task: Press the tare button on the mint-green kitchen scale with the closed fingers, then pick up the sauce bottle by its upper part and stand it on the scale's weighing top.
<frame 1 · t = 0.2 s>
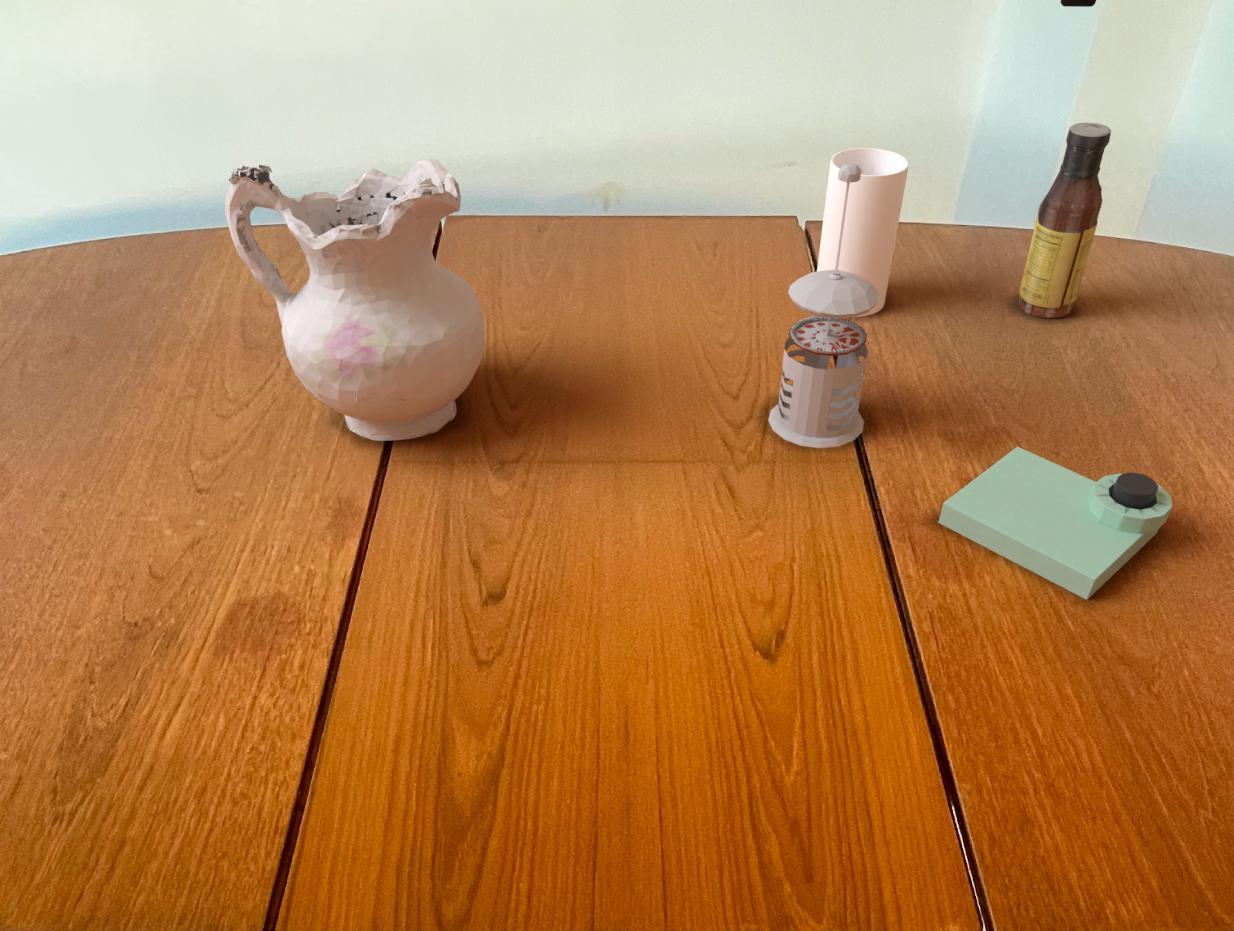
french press: (818, 419, 101), on the table
sauce bottle: (1041, 310, 116), on the table
ceramic pitcher: (389, 413, 104), on the table
scale: (1045, 529, 87), on the table
white cylinder: (848, 303, 118), on the table
tare button: (1134, 491, 84), point 4 cm above the table, slide at 0.2 cm
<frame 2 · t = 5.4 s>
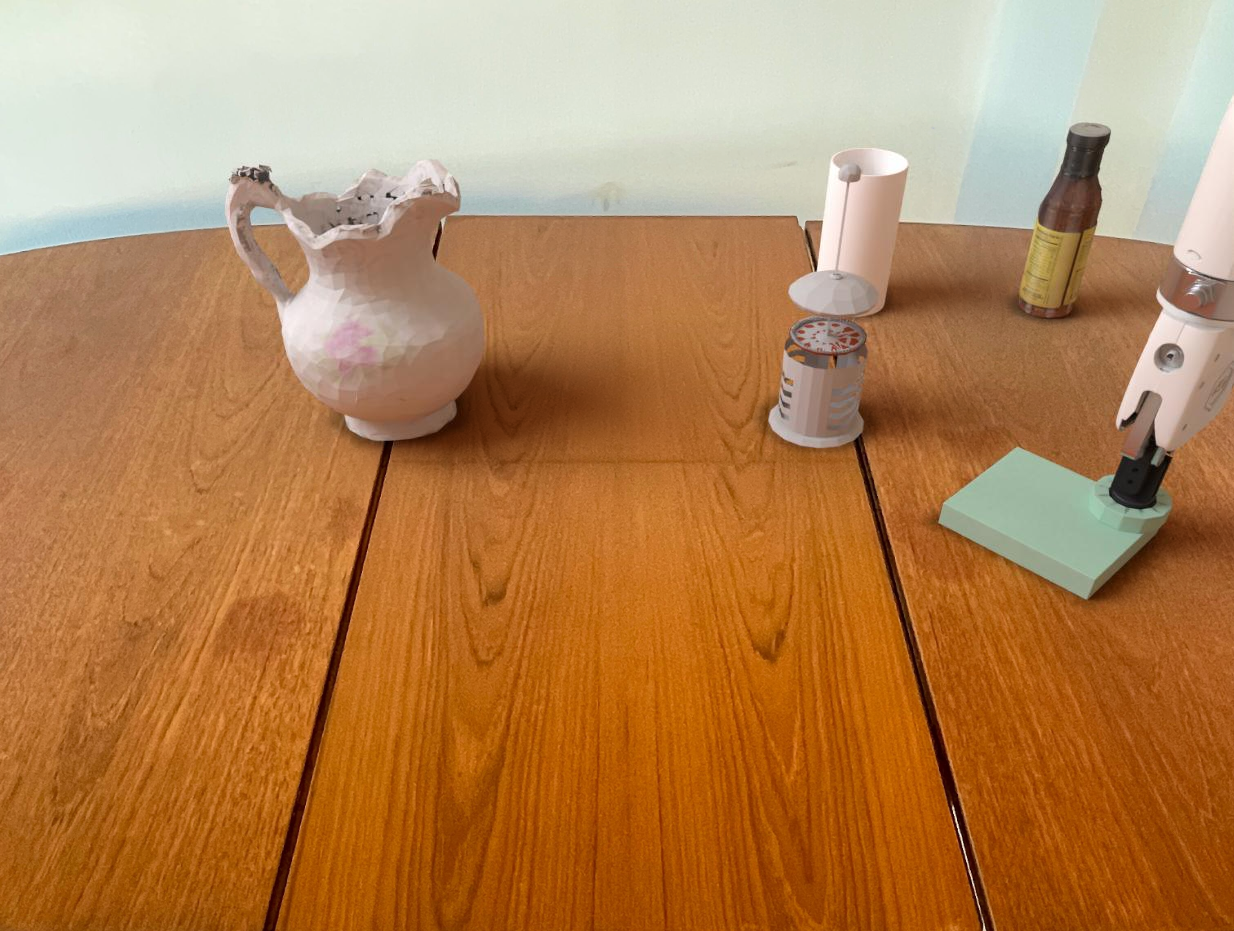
hand: (1132, 492, 84), 4 cm above the table, tool pointing down, fingers closed
tare button: (1130, 499, 85), point 4 cm above the table, slide at -0.7 cm, touching gripper
everything else where it was.
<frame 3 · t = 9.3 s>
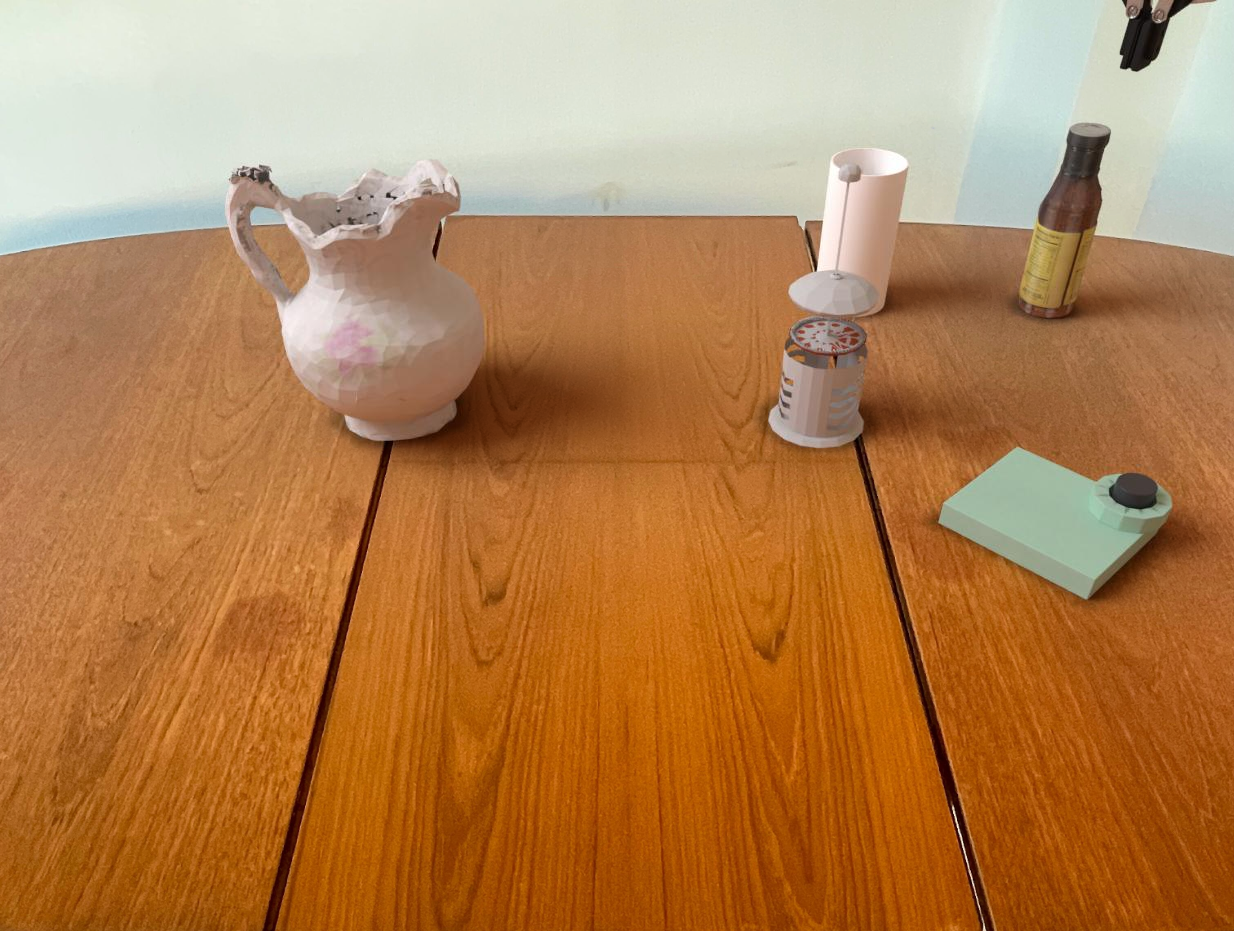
hand: (1134, 66, 92), 27 cm above the table, tool pointing down, fingers closed
tare button: (1134, 491, 84), point 4 cm above the table, slide at 0.2 cm
everything else where it was.
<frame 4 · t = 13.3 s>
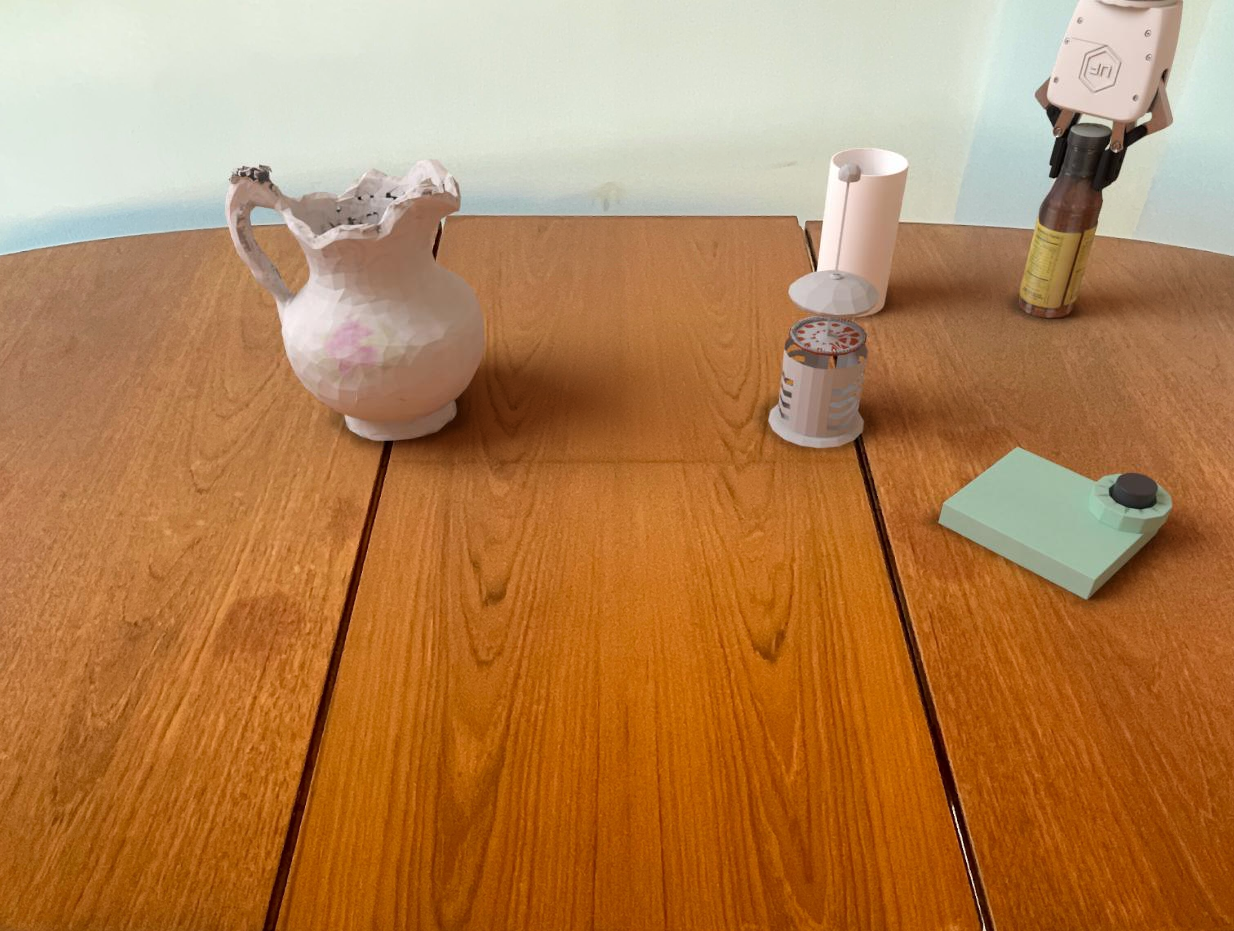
hand: (1080, 179, 106), 15 cm above the table, tool pointing down, fingers closed on sauce bottle, 4 cm apart
sauce bottle: (1041, 310, 116), on the table, touching gripper
everything else where it was.
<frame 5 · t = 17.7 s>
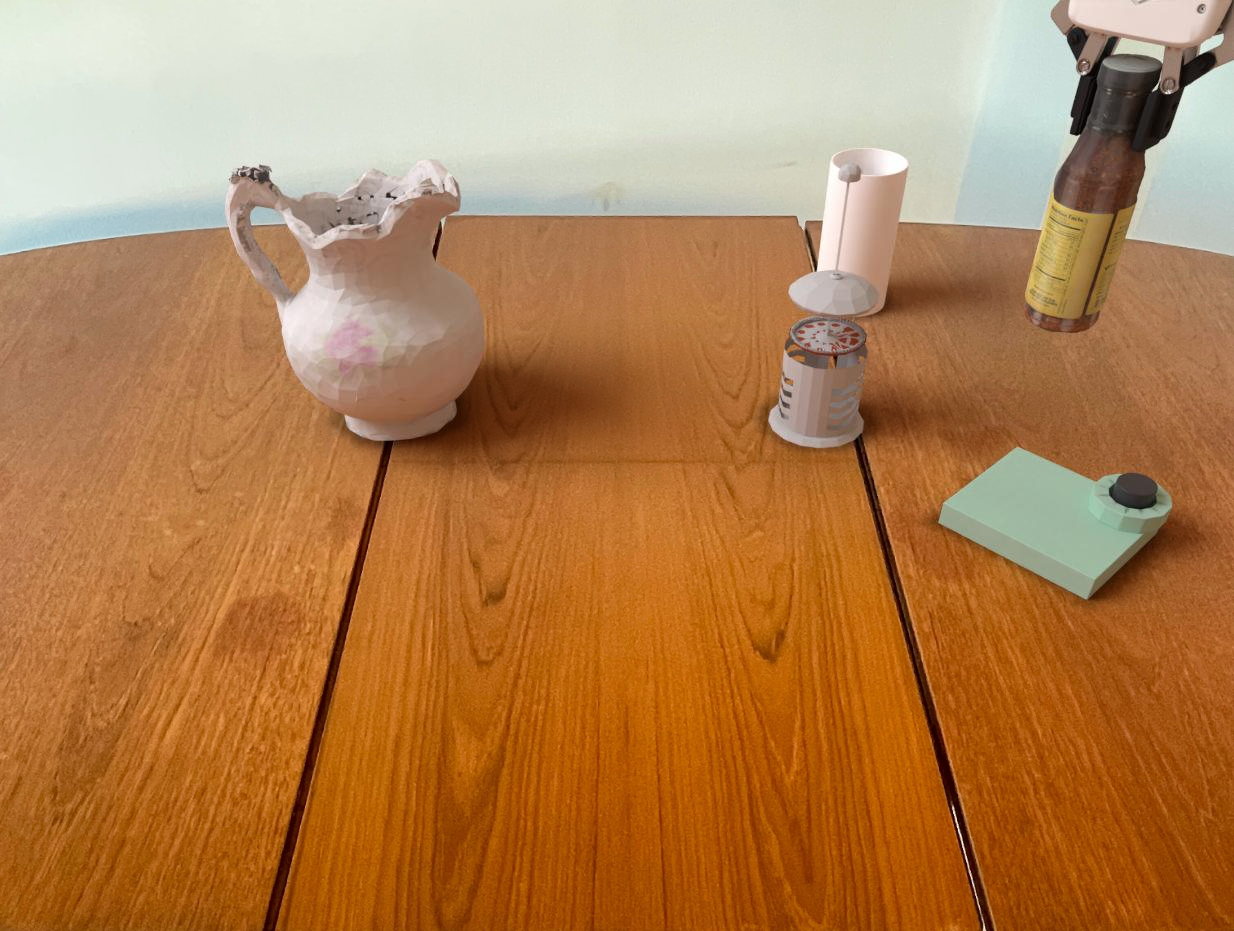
hand: (1114, 136, 74), 29 cm above the table, tool pointing down, fingers closed on sauce bottle, 4 cm apart
sauce bottle: (1055, 321, 85), point 14 cm above the table, touching gripper
everything else where it was.
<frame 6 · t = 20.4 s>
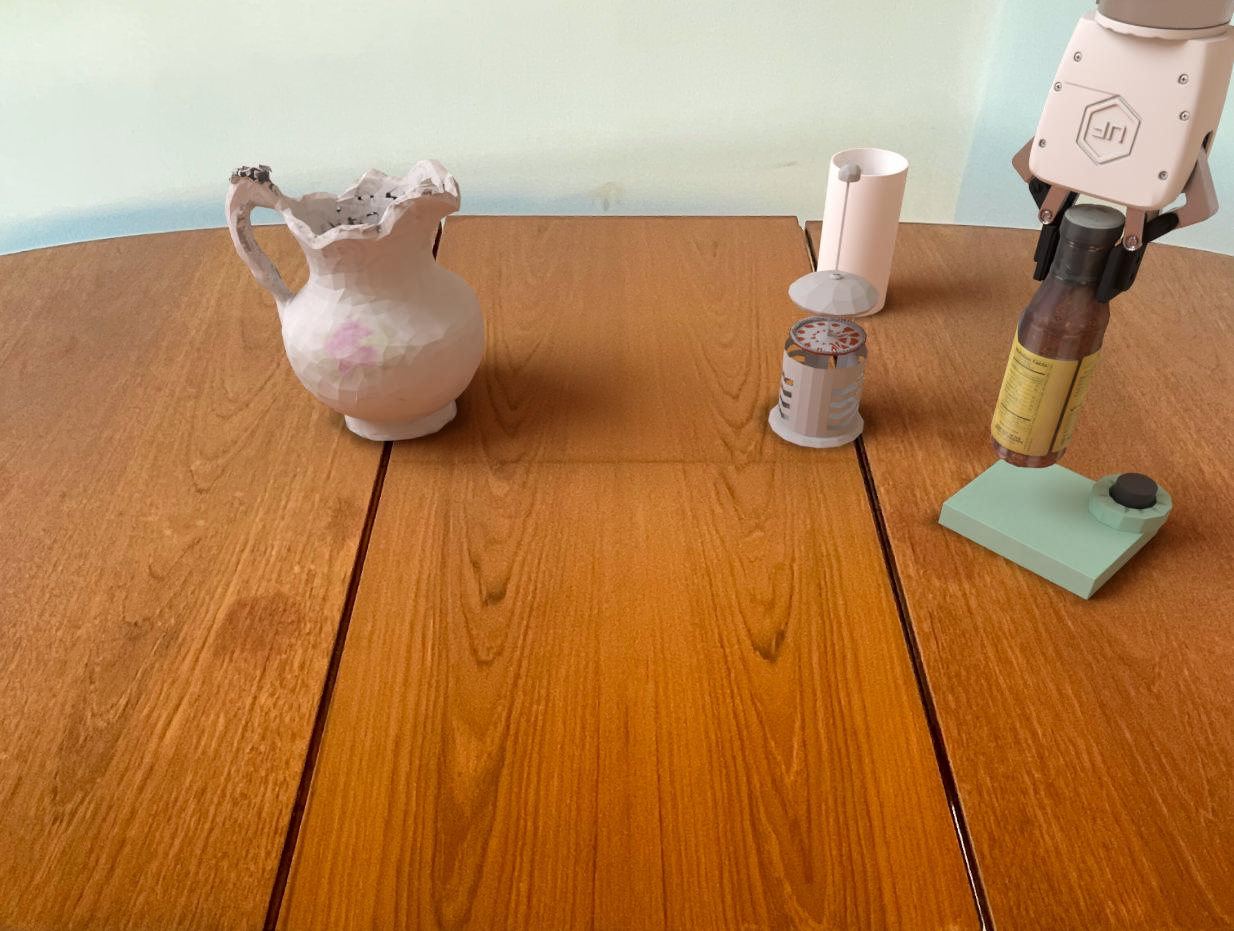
hand: (1078, 282, 73), 22 cm above the table, tool pointing down, fingers closed on sauce bottle, 4 cm apart
sauce bottle: (1021, 452, 83), point 7 cm above the table, touching gripper
everything else where it was.
when the fingers open (17 cm above the table, at t = 22.3 s): sauce bottle stays where it is, resting on scale.
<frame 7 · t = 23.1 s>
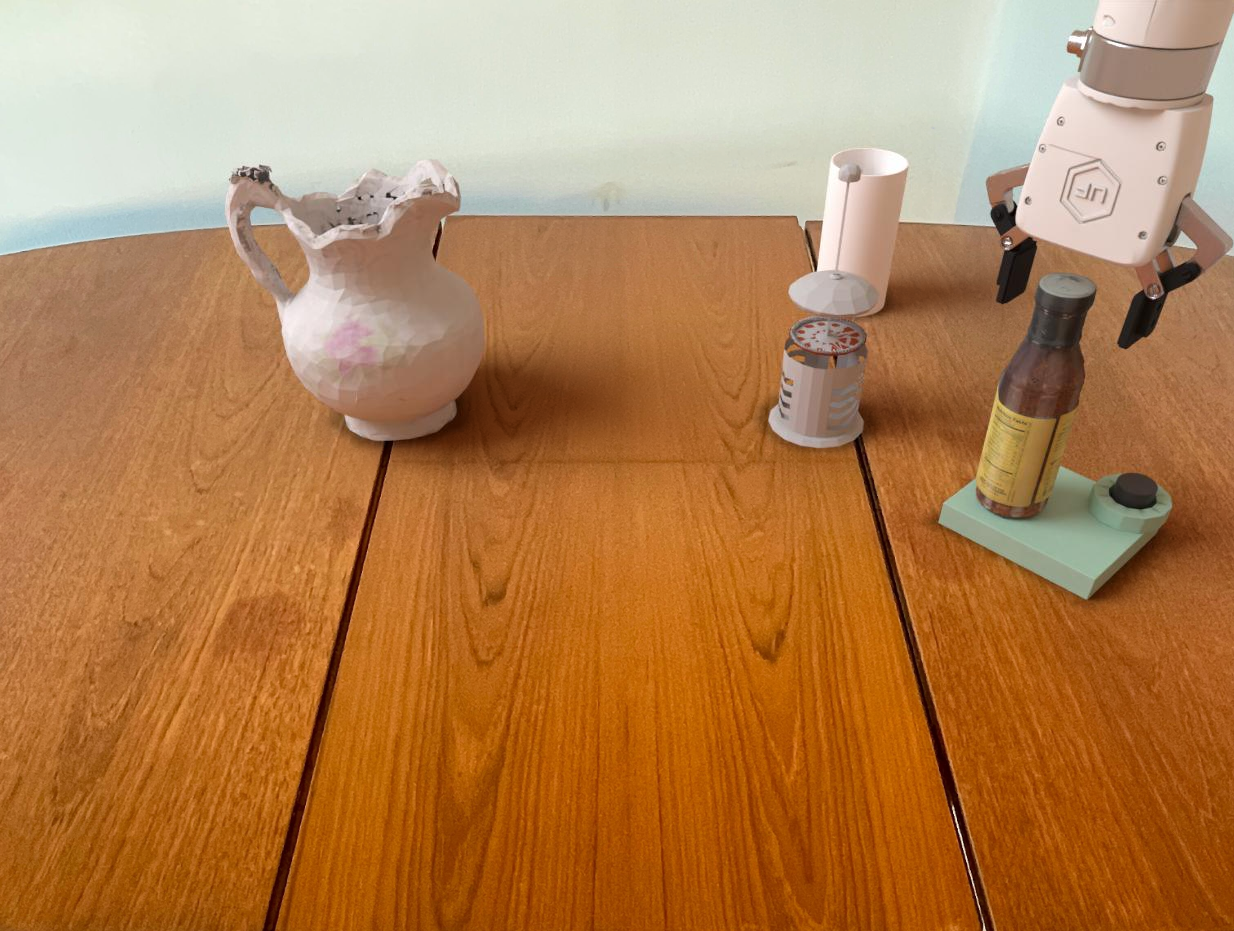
hand: (1068, 318, 75), 20 cm above the table, tool pointing down, fingers open, 9 cm apart
sauce bottle: (1006, 502, 87), point 2 cm above the table, touching scale
everything else where it was.
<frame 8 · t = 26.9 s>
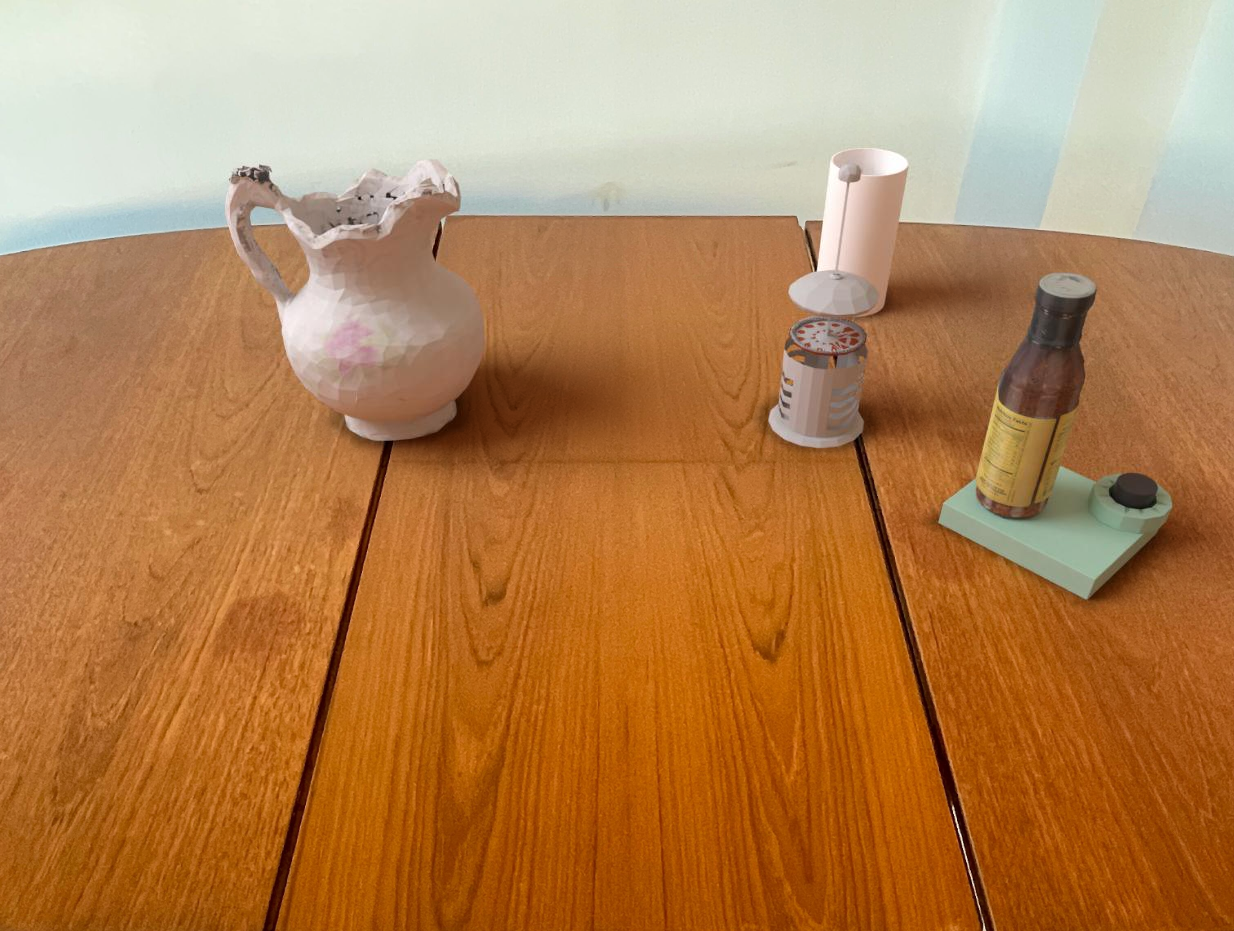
nothing on the table moved.
at the end: tare button pushed in 0.9 cm at the most during the clip, back to 0.2 cm at the end; sauce bottle inside the target area on the scale (2.5 cm from its centre), point 2.2 cm above the scale's base; sauce bottle tilted 0° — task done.
